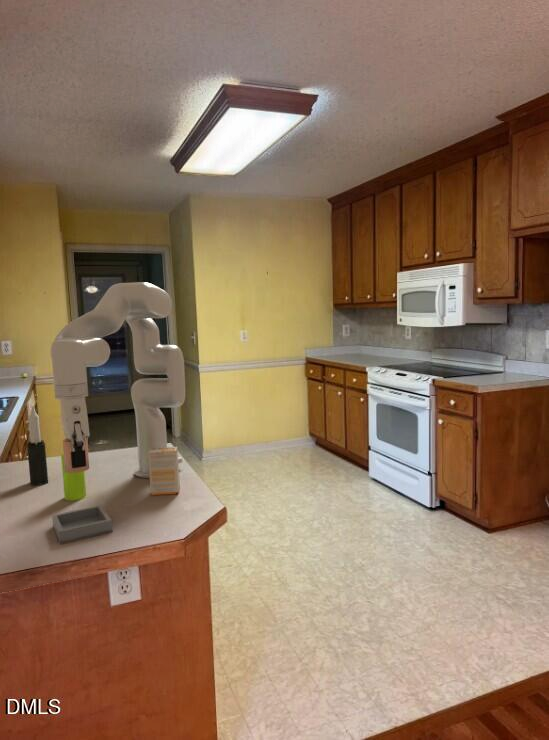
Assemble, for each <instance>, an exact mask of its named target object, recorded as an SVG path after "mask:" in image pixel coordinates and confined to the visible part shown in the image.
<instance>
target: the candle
mask: <svg viewBox="0 0 549 740" xmlns="http://www.w3.org/2000/svg"><path fill="white" fill-rule="evenodd" d="M28 425H29V426H28V427H29V438H30V441H28V442H27V444H26V449H27V458H28V471H29V481H30V482H29V483H30V486H31V485H35V486H39V485H47V484H48V483H49V476H48V475H49V474H48V464H47V453H46V450H47V449H46V443H45V441H44V440H43V439H41V428H40V417H39V415H38V414H37V412H36V410H35V406H34V405H32V406H31V411H30V414H29V415H28Z"/></svg>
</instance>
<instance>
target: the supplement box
mask: <svg viewBox="0 0 549 740" xmlns="http://www.w3.org/2000/svg"><path fill="white" fill-rule="evenodd" d="M178 458H179V451H178V446H172V447H169V446H167V448H151V449H150V450H149V451H148V464H149V477H150V478H149V486H150V488H149V489H150V496H159V495H161V496H162V494H163V495H176V493H178V494H179V493H180V490H181V482H180V479H181V478H180V468H179V467H180V466H179V464H178Z"/></svg>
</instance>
